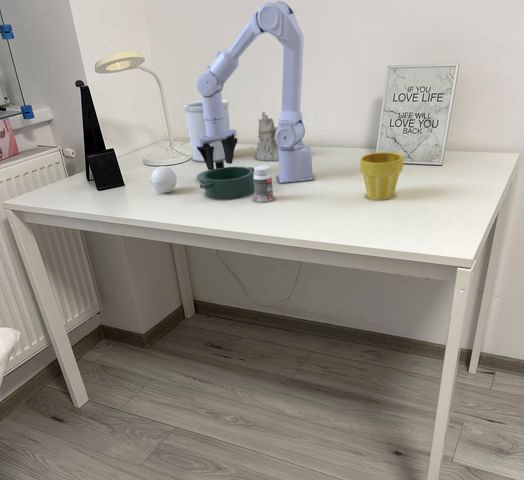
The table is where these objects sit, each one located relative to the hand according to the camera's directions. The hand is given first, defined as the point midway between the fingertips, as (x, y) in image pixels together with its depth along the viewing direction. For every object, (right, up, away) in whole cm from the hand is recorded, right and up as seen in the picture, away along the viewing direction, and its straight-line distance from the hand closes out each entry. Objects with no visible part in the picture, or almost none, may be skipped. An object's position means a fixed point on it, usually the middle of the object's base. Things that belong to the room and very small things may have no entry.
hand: (220, 166), depth 164 cm
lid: (0, -2, +2) cm, 3 cm away
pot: (+4, -11, -12) cm, 17 cm away
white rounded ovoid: (-16, -11, -7) cm, 21 cm away
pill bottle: (+13, -16, -20) cm, 29 cm away
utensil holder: (-5, +12, +25) cm, 28 cm away
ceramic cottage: (+19, +10, +20) cm, 29 cm away
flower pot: (+43, -16, -25) cm, 53 cm away
